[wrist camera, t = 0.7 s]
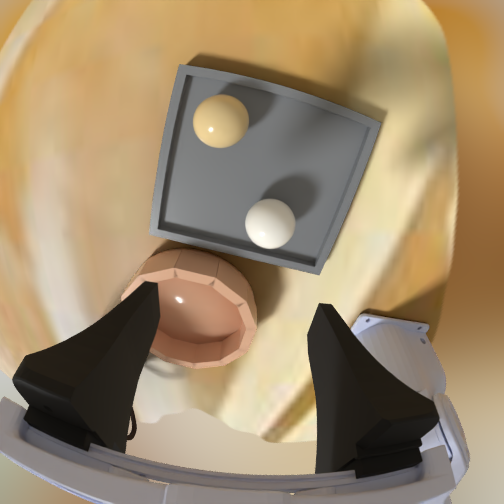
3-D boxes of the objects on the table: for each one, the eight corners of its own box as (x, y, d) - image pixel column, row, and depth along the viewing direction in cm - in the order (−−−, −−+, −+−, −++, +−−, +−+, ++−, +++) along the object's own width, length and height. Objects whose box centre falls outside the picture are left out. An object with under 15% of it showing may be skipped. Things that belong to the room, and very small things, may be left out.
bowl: (271, 266, 23) (272, 290, 20) (238, 353, 28) (236, 376, 25) (135, 234, 21) (120, 253, 19) (133, 328, 27) (124, 349, 24)
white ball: (298, 198, 19) (306, 218, 16) (284, 239, 21) (288, 263, 18) (252, 186, 19) (252, 203, 16) (241, 228, 20) (238, 251, 18)
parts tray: (374, 121, 17) (381, 122, 16) (316, 266, 22) (319, 275, 21) (184, 66, 15) (179, 64, 14) (154, 227, 21) (149, 234, 20)
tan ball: (255, 101, 16) (255, 101, 13) (242, 148, 17) (239, 159, 15) (205, 90, 15) (194, 88, 13) (193, 137, 17) (181, 145, 14)
